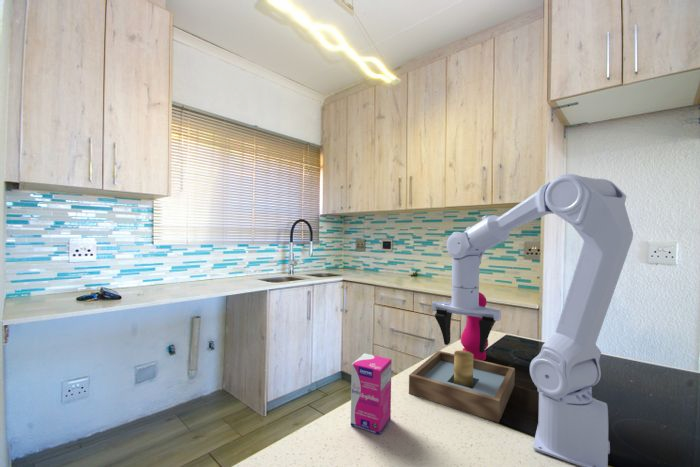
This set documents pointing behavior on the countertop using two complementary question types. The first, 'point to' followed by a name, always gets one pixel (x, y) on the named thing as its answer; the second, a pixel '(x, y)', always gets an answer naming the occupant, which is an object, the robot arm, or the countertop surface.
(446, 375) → the bore plate
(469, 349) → the pepper mill
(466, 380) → the peg
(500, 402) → the tray
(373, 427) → the supplement box
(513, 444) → the countertop surface
